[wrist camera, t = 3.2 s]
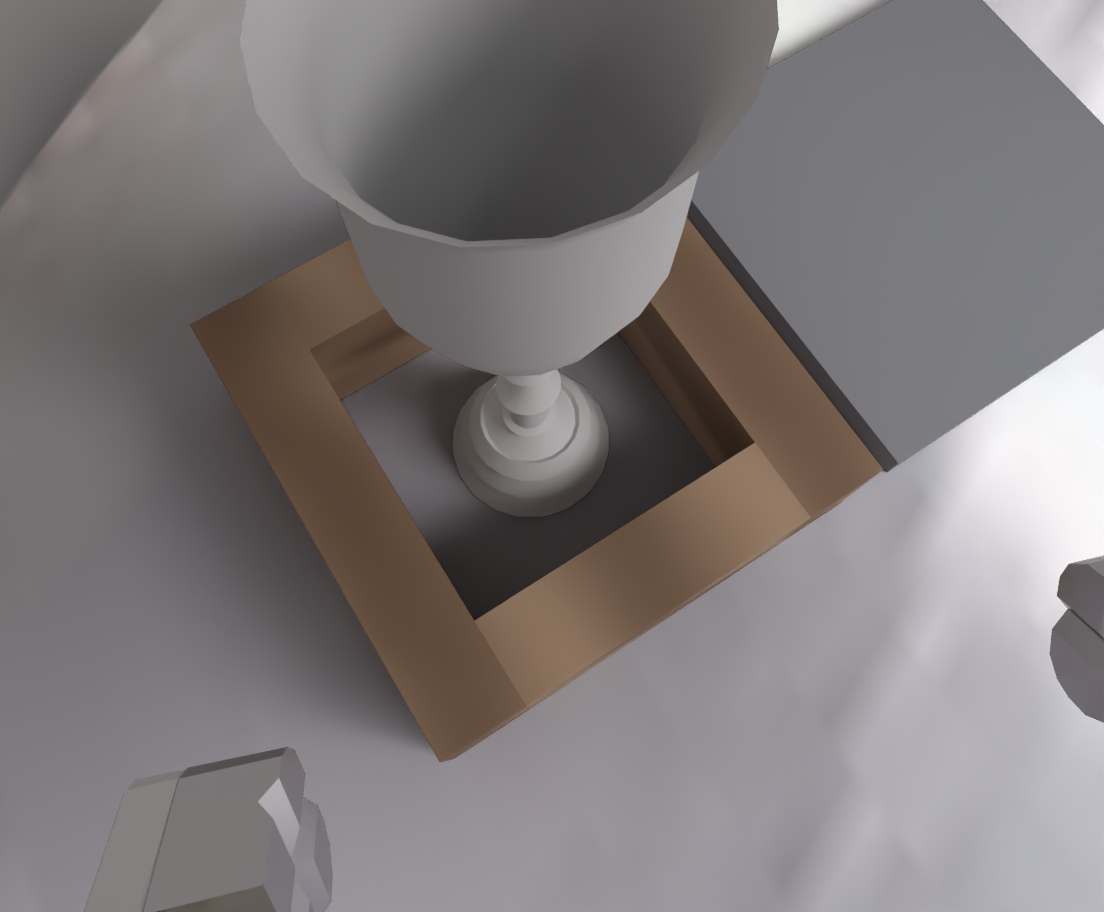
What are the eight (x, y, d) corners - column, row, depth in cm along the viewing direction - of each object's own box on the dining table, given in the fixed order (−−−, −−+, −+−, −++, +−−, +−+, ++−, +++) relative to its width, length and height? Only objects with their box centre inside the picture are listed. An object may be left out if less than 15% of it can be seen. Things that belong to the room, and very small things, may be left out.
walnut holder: (592, 181, 32) (599, 105, 28) (837, 505, 28) (883, 469, 24) (236, 378, 29) (189, 325, 25) (455, 758, 26) (440, 762, 22)
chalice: (489, 306, 30) (417, -267, 13) (673, 389, 29) (859, -104, 12) (382, 494, 28) (127, 115, 11) (576, 589, 27) (635, 341, 10)
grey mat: (940, -11, 34) (951, -32, 33) (1202, 263, 31) (1223, 248, 30) (639, 155, 32) (642, 137, 31) (886, 472, 28) (898, 463, 27)
